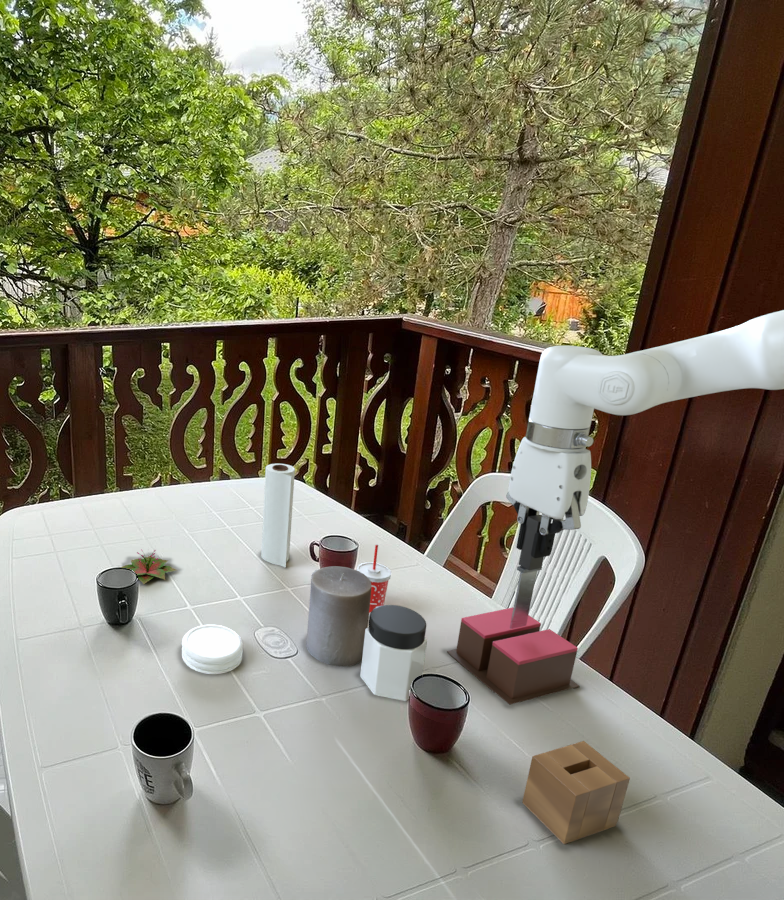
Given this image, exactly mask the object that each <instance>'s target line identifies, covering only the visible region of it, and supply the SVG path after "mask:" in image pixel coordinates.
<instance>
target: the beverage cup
mask: <svg viewBox="0 0 784 900" xmlns="http://www.w3.org/2000/svg"><path fill="white" fill-rule="evenodd" d="M378 549H379V545H378V544H375V546H374V553H373V561H372V562H371V561H365V562H361V563H359V564H358V565H357V566H356V570H357V571H359V572H361V573H363V574H364V575H366V576H367V577H368V578H369V580H370V581H371V586H372V587H371V599H370V608H369V617H370V613H371V611H372V610H373V609H375V608H376V607H379V606H383V605H385V601H386V597H387V591H388V585H389V582H390V581H389V580H391V576H392V570H391V568H390V567H388V566H386V565H384V564H382V563H378V562H377V560H378Z"/></svg>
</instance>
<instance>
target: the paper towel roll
mask: <svg viewBox="0 0 784 900" xmlns="http://www.w3.org/2000/svg"><path fill="white" fill-rule="evenodd" d="M295 469H296V468H295V467H294V466H293V465H290V464H286V463H270V464H267V465H266V466H265V471H264V472H265V476H264V495H263V511H262V512H263V513H262V532H261V534H262V535H261V551H260V552H261V553H260V554H261V556H260V557H261V559H262V560H263V561H265V562H267V563H270V564H271V565H272V564H273V565H276V566H280V567H283V568H287V562H288V561H289V560H290V548H291V536H292V535H291V534H292V518H293V504H294V488H295V473H296V470H295Z"/></svg>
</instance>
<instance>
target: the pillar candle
mask: <svg viewBox="0 0 784 900" xmlns="http://www.w3.org/2000/svg"><path fill="white" fill-rule="evenodd" d="M371 587H372V586H371V581H370V580H369V578H368V577H367V576H366V575H364V574H363V573H361V572H359V571H357V569H354V568H350V567H347V566H338V565H337V566H336V565H332V566H325V567H321V568H318V569H316V570H314V571H313V572H312V573H311V575H310V591H309V602H308V603H309V606H308V614H307V615H308V617H307V629H306V632H307V633H306V650H307V651H308V653H309V654H310V655H311V656H312V658H314V659H316V661H319V662H321V663H323V664H327V665H330V666H335V667H352V666H355V665H357V664H360V662H362V656H363V646H364V637H365V629H366V628H368V627H369V617H370V616H369V608H370V599H371Z"/></svg>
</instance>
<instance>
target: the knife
mask: <svg viewBox="0 0 784 900" xmlns="http://www.w3.org/2000/svg"><path fill="white" fill-rule="evenodd" d="M541 519H542V514H539V515H534V516H528V518H527V523H526V530H525V535H524V540H523V545H522V550H520V555H519V561H518V566H517V567H516V570H517V571H518V572H519V577H518V583H517V588H516V593H515V598H514V604H513V607H514V608H513V613H512V618H511V623H510V629H513V628H518V627H522V626H526V624H527V619H528V615H529V613H530V608H531V603H532V599H533V593H534V588H535V584H536V578H537V574H538V571H542V569H543V562H544V558H545V557H540V558H533V557H532V556H531V551H532V546H533V541H534V536H535V533H536V532H540V531H539V529H540V524H541Z"/></svg>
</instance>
